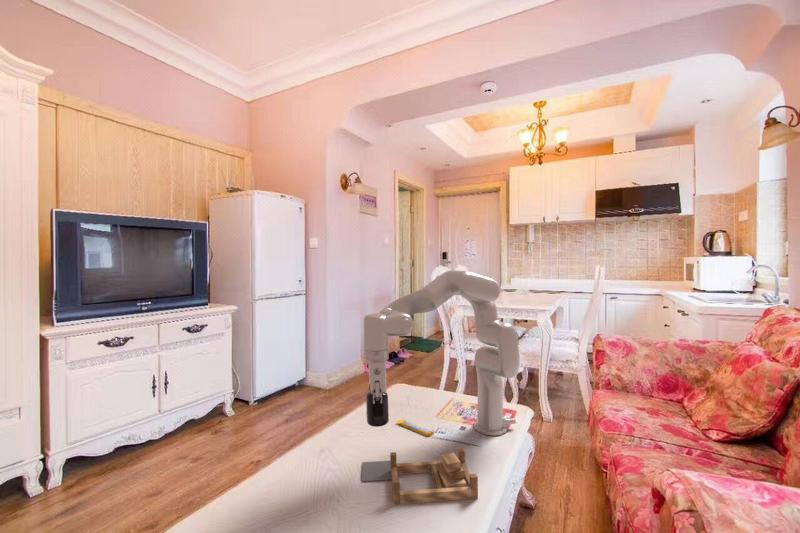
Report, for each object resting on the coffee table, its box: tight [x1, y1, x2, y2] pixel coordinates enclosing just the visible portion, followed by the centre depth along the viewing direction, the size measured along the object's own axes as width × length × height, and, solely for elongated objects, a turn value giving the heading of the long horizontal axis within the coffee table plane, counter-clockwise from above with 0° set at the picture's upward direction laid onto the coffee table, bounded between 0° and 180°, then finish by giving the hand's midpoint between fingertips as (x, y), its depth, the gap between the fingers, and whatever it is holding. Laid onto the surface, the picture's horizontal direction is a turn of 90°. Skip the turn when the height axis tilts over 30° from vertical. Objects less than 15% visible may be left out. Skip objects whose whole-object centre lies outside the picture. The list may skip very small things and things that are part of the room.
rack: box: [389, 447, 479, 505], centre depth 107 cm, size 23×15×6 cm, turn 95°
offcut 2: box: [437, 460, 465, 483], centre depth 108 cm, size 5×7×2 cm
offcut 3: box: [437, 471, 467, 488], centre depth 107 cm, size 6×9×3 cm, turn 10°
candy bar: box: [396, 418, 435, 438], centre depth 142 cm, size 17×4×2 cm, turn 46°
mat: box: [361, 460, 392, 483], centre depth 114 cm, size 10×10×1 cm
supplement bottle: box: [365, 383, 390, 428], centre depth 113 cm, size 7×7×12 cm
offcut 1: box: [440, 452, 461, 472], centre depth 107 cm, size 4×5×2 cm
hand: (377, 410), depth 113 cm, fingers closed on supplement bottle, 6 cm apart
